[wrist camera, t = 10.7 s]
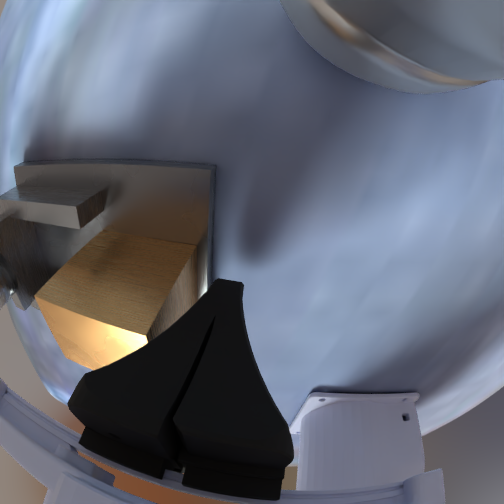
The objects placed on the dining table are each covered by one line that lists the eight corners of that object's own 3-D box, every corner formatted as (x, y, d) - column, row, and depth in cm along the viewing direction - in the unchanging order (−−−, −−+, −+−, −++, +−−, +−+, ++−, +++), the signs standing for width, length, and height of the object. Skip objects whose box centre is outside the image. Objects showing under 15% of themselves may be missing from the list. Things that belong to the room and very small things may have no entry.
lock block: (196, 245, 11) (145, 335, 7) (197, 308, 13) (163, 395, 9) (98, 229, 11) (30, 293, 7) (110, 288, 13) (62, 355, 9)
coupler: (216, 165, 10) (146, 235, 5) (210, 339, 15) (184, 426, 11) (15, 163, 11) (-56, 203, 6) (49, 293, 16) (6, 346, 11)
